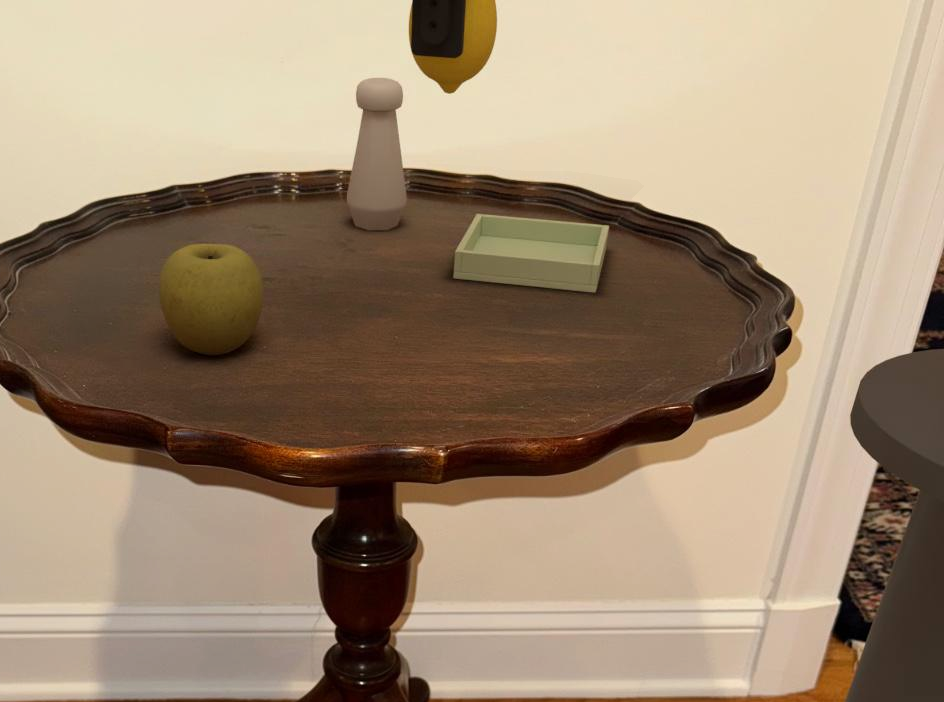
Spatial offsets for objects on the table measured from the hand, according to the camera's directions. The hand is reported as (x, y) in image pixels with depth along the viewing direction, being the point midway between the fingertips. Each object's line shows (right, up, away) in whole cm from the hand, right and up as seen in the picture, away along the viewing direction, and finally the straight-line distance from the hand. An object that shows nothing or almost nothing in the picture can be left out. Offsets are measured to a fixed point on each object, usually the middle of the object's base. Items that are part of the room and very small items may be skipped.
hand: (452, 44), depth 71 cm
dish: (+10, -5, +29) cm, 31 cm away
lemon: (0, -3, +2) cm, 3 cm away
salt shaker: (-4, +1, +38) cm, 38 cm away
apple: (-17, -16, +13) cm, 27 cm away
